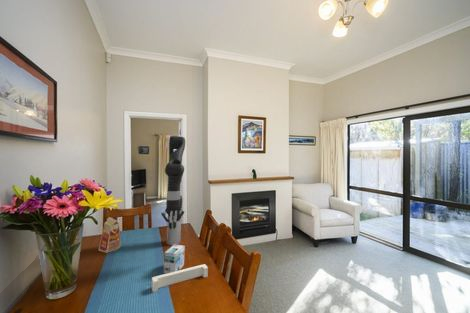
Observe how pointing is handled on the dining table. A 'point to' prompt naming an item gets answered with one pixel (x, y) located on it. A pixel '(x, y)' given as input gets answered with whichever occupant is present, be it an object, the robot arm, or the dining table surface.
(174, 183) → the robot arm
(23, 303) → the dining table surface
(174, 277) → the board
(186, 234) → the dining table surface
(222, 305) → the dining table surface
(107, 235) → the milk carton
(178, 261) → the light bulb box
